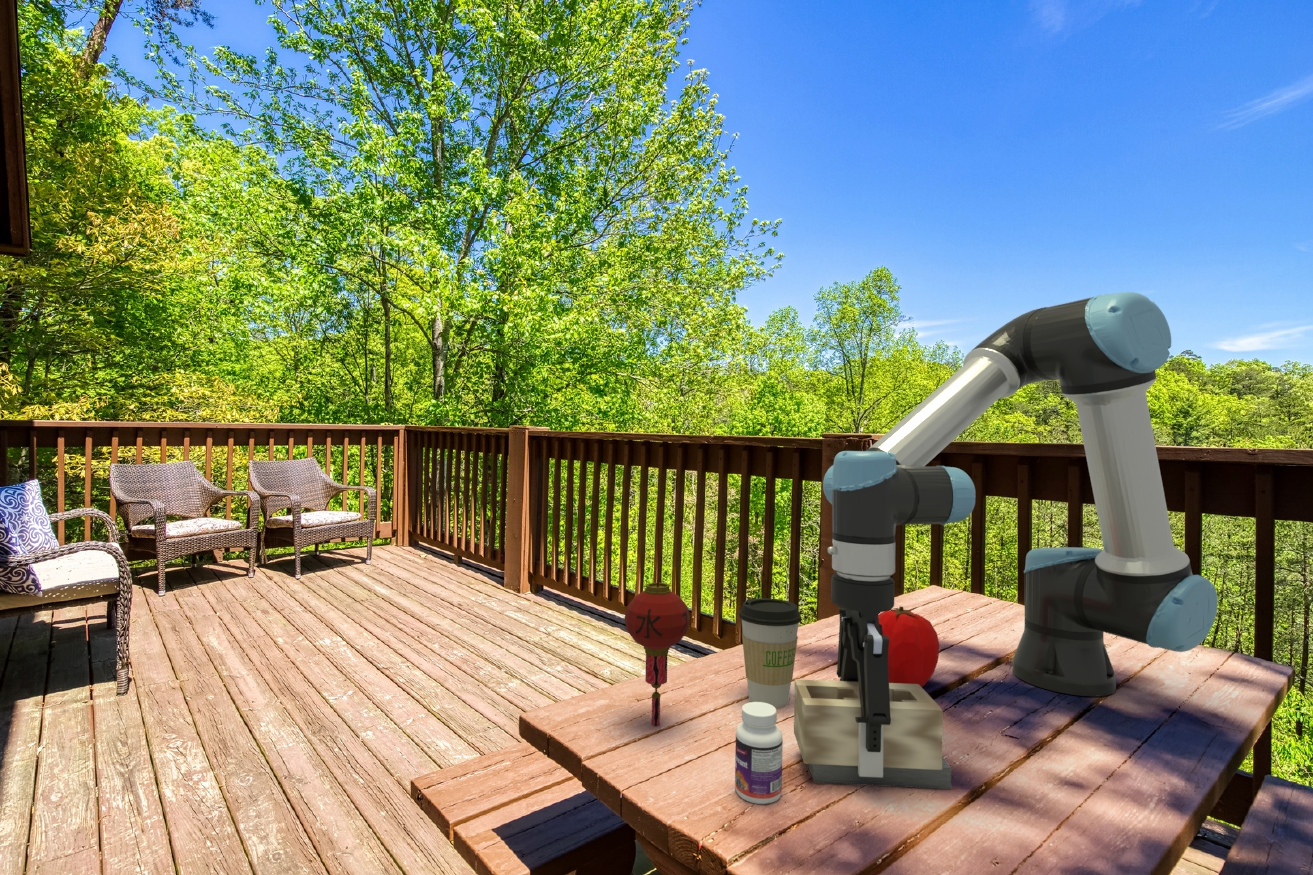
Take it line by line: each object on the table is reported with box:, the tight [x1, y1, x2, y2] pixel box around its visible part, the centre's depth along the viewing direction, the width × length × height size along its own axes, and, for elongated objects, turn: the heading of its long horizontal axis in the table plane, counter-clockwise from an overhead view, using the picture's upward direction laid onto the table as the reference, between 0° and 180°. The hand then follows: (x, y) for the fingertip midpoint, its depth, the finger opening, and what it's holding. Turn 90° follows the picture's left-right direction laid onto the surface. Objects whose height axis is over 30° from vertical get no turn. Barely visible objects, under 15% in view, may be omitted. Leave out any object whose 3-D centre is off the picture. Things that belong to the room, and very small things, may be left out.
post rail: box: [807, 756, 952, 790], centre depth 78 cm, size 16×7×6 cm, turn 87°
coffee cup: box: [738, 597, 802, 709], centre depth 99 cm, size 10×10×15 cm
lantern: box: [624, 514, 691, 727], centre depth 90 cm, size 10×10×30 cm
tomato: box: [878, 606, 940, 688], centre depth 106 cm, size 12×12×13 cm
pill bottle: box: [734, 701, 784, 805], centre depth 73 cm, size 5×5×10 cm
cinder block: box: [793, 678, 944, 770], centre depth 78 cm, size 16×8×7 cm, turn 86°
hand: (860, 756), depth 78 cm, fingers closed on cinder block, 8 cm apart
